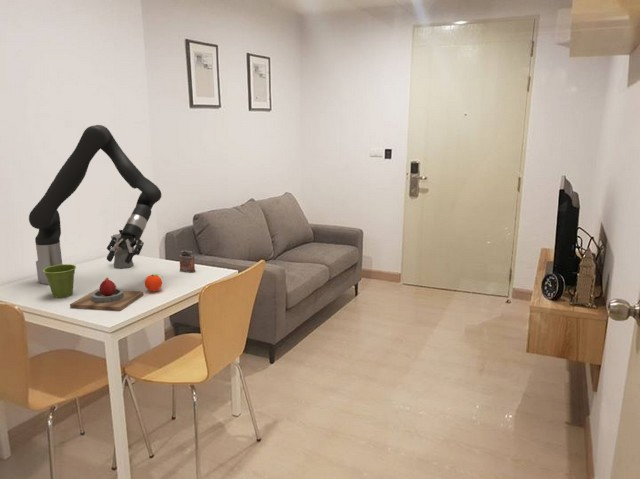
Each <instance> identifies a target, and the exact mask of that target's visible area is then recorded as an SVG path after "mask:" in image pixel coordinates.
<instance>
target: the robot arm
mask: <svg viewBox="0 0 640 479" xmlns="http://www.w3.org/2000/svg"><path fill="white" fill-rule="evenodd" d="M100 150H101V151H103V152H104V153H105V154H106V155H107V156H108V158H109V159H110V161H111V162H112V164H113V165H114V167H115V168H116V170H117V171H118V173H119V175H120V176H121V178H122V179H123V180H124V181H126V183H127V184H128V185H129V186H130V187H131V188H132V189H138V190H139V191H140V194H139V196H138V197H137V201H136V205H135V207H134V209H133V210H132V212H131V214H130V216H129V217H128V219H127V221H126V223H125V225H124V227H123V228H122V229H121V230H122V232H121V237H120V238H119V239H117V238H115V237H113V238H111V240H110V241H109V243H108V245H107V247H106V249H107V251H109V252H108V254H107V256H106V260H107V261H108V262H110V263H111V262H112V261H113V259H114V258H115V253H116V252H118V251H121V250H129V253H128V255H127V257H126V259H125V262H126V263H127V264H129V263H130V262H131V260H132V261H133V258H134V256H139V255H140V253H141V252H142V249H143V247H144V244H145V242H144V241H143V240H142V239H141V238H142V236H143V234H144V232H145V230H146V227H147V224H148V221H149V219H150V218H151V215H152V209H153V207H154V205H155V204H157V202H159V201H160V200H161V198H162V192H161V189H160V188H159V187H158V186H157V185H156V184H155V183H154V182H152V181H151V180H150V179H149V178H147V177H145V176H144V174H143V173H142V172H141V170H140V169H138V168H137V166H136V165H135V164H134V162H132V160H131V159H130V158H129V157H128V155H127V154H126V153H125V152H124V151H123V149H122V147H121V146H120V144H118V142H117V140H116V139H115V137H114V135H113V134H112V132H111V131H110V130H109V129H108V128H107V126H105V125H102V124H94V125H90V126H87V127H86V128H85V129H84V131H83V133H82V135H81V137H80V139H79V141H78V143H77V144H76V147H75V148H74V150H73V152H72V153H71V154H70V155H69V157H68V158H67V159H66V160H65V162H64V163H63V165H62V167H61V168H60V169H59V170H58V172H57V174H56V175H55V177H54V179H53V181H52V182H51V183H50V185H49V186H48V188H47V190H46V192H45V193H44V195H43V196H42V197H41V199H40V200H39V201H38V202H37V203H36V205H35V206H34V207H33V208H32V209H31V211H30V212H29V215H28V222H29V224H30V226H31V227H32V228H34V229H36V230H38V233H37V235H36V236H35V250H36V256H37V260H36V261H35V265H36V274H37V283H39V284H42V285H49V282H48V279H47V277H46V275H45V273H44V272H43V270H44V269H45V268H47V267H50V266H55V265H62V264H63V259H62V258H63V257H62V248H61V239H60V238H61V236H62V232H61V231H62V230H61V216H60V213H59V211H58V209H59V207H60V206H62V204H63V203H65V202H66V200H68V199H69V198H70V196H72V194H74V193H75V192H76V191H77V189H78V188H79V186H80V185H81V183H82V182H83V181H84V178H85V177H86V175H87V171H88V169H89V165H90V163H91V161H92V160H93V158H94V157H95V155H96V154H97V153H98V152H99V151H100ZM118 245H119V247H120V248H119V247H117V246H118ZM114 249H116V250H114Z"/></svg>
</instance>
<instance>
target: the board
mask: <svg viewBox="0 0 640 479" xmlns="http://www.w3.org/2000/svg"><path fill="white" fill-rule="evenodd" d="M97 290H99V288H98V289H94V290H92V291H91V292H90V293H88V294H86V295H84V296H82V297H80V298H79V299H77V300H75V301H73V302H71V303H70V304H69V308H70V309H78V310H79V309H80V310H81V309H82V310H93V311H95V310H99V311H112V312H113V311H114V312H121V311H122V310H124V309H126V308H127V307H129V306H130V305H131V304H133V303H135V302H136V301H137V300H139V299H140V298H141V297H143V296H144V291H140V290H139V291H138V290H137V291H135V290H123V294H124V297H123V298H122V299H120V300H117V301H114V302H107V303H96V302H94V301H92V298H91V294H92V293H93V292H95V291H97ZM113 295H116V294H113ZM113 295H112V296H113ZM98 297H106V296H104V295H101V296H98Z"/></svg>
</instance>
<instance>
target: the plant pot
mask: <svg viewBox="0 0 640 479" xmlns="http://www.w3.org/2000/svg"><path fill="white" fill-rule="evenodd" d="M76 269H77V266H76V265H74V264H72V263H71V264H69V263H67V264H63V263H62V265H55V266H50V267H47V268H45V269H44V270H43V272H44V273H45V275H46V277H47V279H48V282H49V284H48V285H49V288H50V291H51V294H52V297H54V298H58V299H61V298H67V297H69V296H72V295H73V294H74V282H75V280H74V278H75V273H76V272H75V271H76Z"/></svg>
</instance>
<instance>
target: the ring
mask: <svg viewBox="0 0 640 479" xmlns="http://www.w3.org/2000/svg"><path fill="white" fill-rule="evenodd" d="M96 290H97V289H96ZM94 291H95V290H94ZM123 291H124V289H121V288H119V287H116V290H115V292H114V294H116V295H113V296H107V297H98V296H101V295H102V294H101V292H100V290H97V291H95V292H93V291H92V292H93V293H92V294H91V298H92V301H94V302H96V303H107V302H114V301H117V300H120V299H122V298H123V297H124V294H123Z"/></svg>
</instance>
